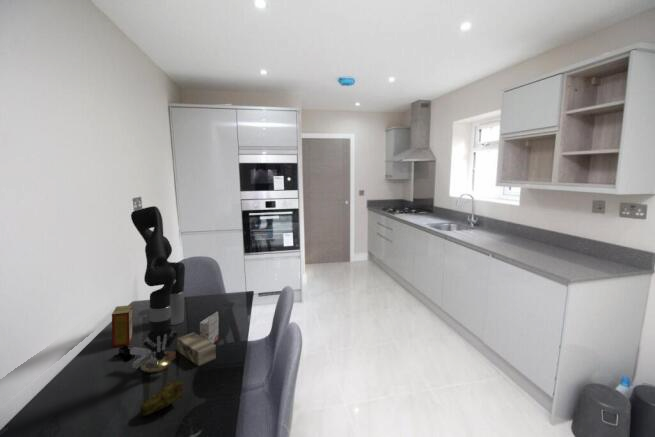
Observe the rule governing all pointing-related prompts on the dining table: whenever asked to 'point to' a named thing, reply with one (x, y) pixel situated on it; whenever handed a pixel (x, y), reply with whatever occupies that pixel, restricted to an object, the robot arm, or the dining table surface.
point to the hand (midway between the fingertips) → (160, 359)
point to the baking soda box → (122, 326)
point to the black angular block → (124, 354)
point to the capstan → (151, 360)
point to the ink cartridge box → (210, 328)
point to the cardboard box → (196, 348)
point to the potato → (163, 397)
